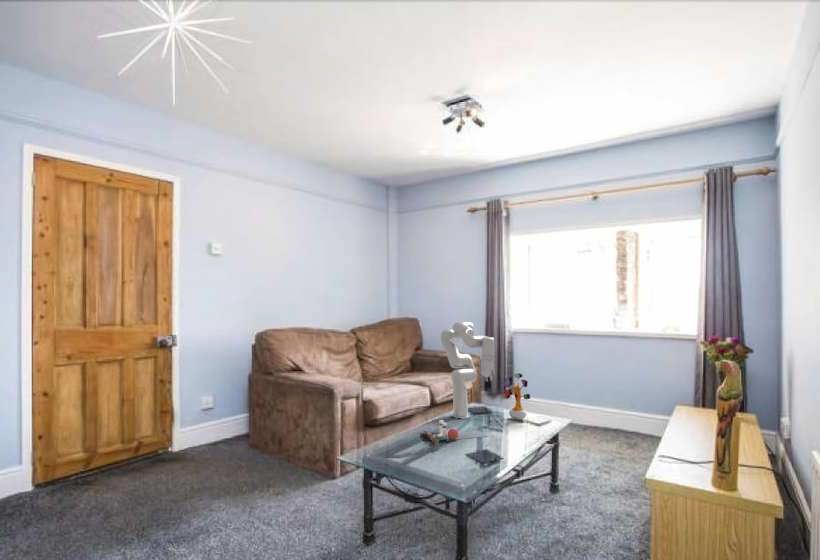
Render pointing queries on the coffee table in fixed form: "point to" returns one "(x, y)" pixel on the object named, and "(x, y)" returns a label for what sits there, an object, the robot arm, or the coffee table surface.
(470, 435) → the lane
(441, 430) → the pin
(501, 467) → the coffee table surface
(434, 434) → the pin front
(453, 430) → the ball
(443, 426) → the pin
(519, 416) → the decorative sculpture
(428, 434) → the back wall
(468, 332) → the robot arm
